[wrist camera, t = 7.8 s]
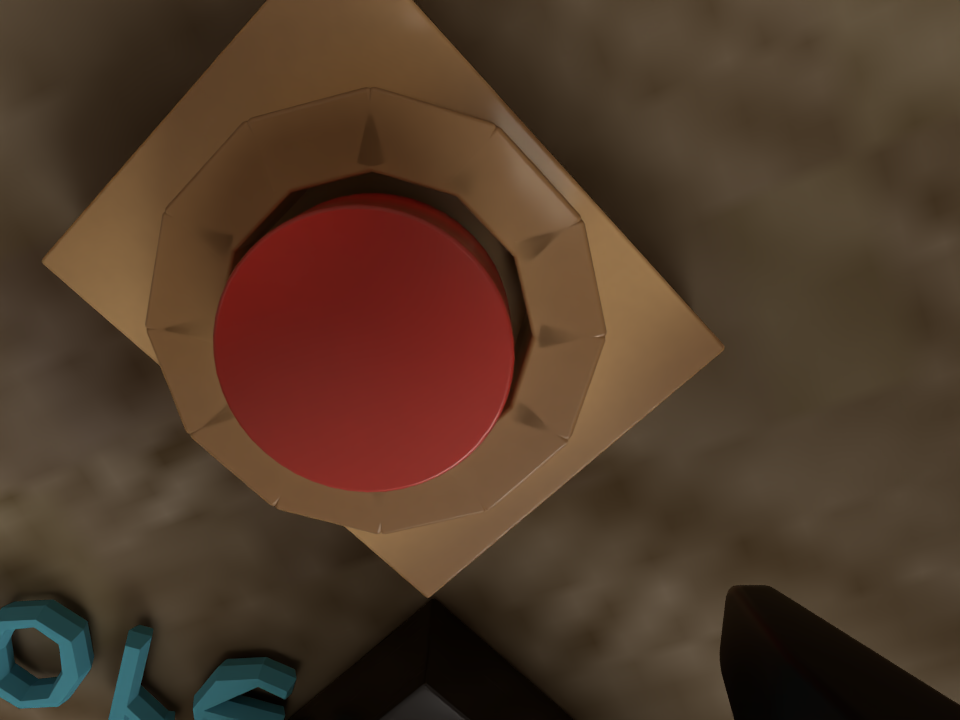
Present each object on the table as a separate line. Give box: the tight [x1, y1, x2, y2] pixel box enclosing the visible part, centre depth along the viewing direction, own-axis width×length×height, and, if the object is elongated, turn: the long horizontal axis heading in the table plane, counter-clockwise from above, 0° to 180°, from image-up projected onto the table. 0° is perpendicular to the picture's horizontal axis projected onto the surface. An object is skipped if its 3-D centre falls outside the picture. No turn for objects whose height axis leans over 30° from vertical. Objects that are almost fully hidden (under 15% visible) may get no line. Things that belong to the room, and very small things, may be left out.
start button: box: [213, 193, 515, 492], centre depth 12 cm, size 4×4×2 cm
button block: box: [42, 0, 725, 598], centre depth 14 cm, size 10×8×4 cm
